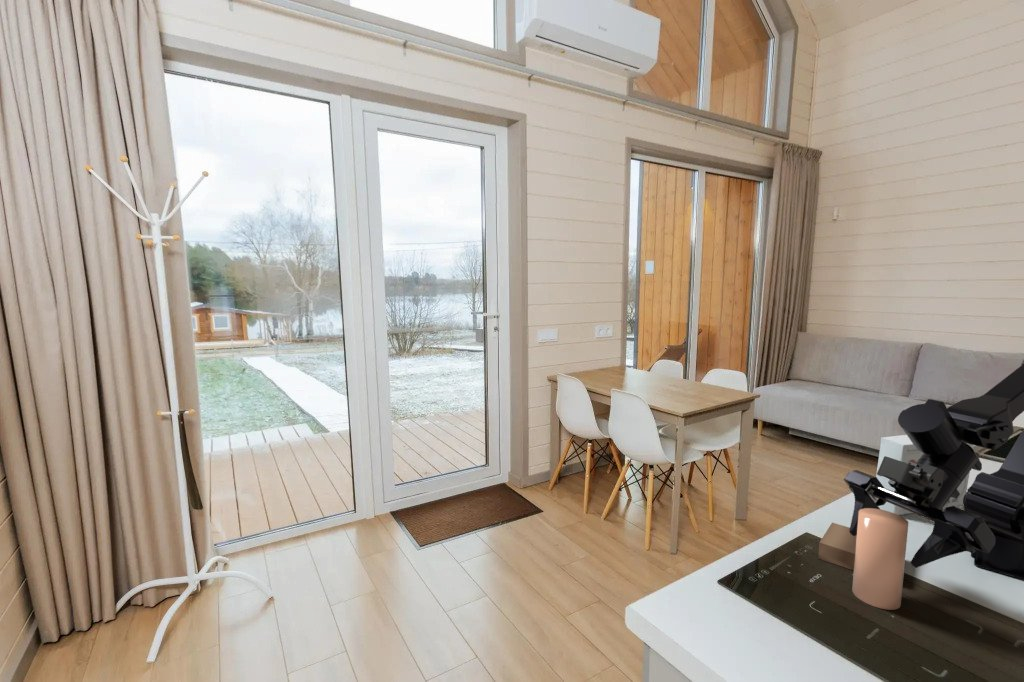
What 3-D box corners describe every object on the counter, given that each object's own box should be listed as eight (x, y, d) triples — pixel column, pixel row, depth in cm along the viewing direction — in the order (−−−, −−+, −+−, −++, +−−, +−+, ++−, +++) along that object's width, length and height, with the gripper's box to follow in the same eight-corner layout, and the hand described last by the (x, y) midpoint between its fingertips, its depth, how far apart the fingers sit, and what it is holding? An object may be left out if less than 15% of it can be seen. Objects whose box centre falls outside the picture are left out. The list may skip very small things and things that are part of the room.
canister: (902, 596, 74) (910, 516, 73) (898, 615, 70) (906, 531, 69) (855, 580, 78) (862, 504, 77) (848, 597, 74) (855, 517, 73)
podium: (897, 557, 85) (898, 541, 84) (889, 582, 78) (891, 565, 77) (830, 537, 92) (832, 522, 91) (818, 558, 85) (819, 542, 84)
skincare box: (896, 518, 99) (903, 444, 97) (871, 506, 104) (877, 436, 103) (968, 505, 105) (976, 435, 103) (940, 495, 110) (947, 428, 108)
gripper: (856, 423, 82) (801, 492, 80) (991, 461, 64) (925, 551, 62) (886, 463, 85) (833, 530, 83) (1023, 509, 67) (960, 597, 65)
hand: (880, 548), depth 73 cm, fingers open, 9 cm apart
